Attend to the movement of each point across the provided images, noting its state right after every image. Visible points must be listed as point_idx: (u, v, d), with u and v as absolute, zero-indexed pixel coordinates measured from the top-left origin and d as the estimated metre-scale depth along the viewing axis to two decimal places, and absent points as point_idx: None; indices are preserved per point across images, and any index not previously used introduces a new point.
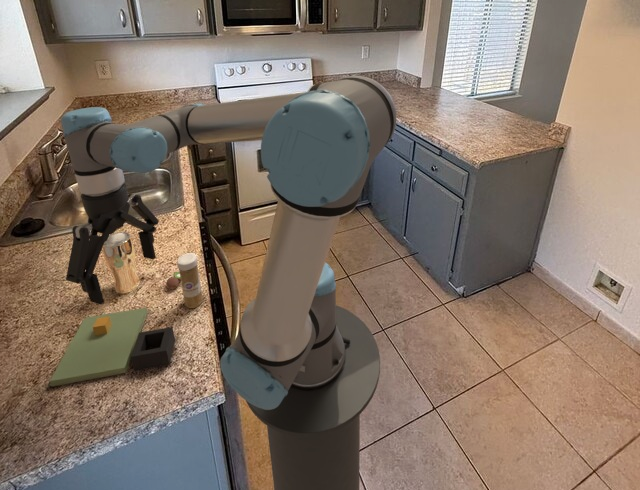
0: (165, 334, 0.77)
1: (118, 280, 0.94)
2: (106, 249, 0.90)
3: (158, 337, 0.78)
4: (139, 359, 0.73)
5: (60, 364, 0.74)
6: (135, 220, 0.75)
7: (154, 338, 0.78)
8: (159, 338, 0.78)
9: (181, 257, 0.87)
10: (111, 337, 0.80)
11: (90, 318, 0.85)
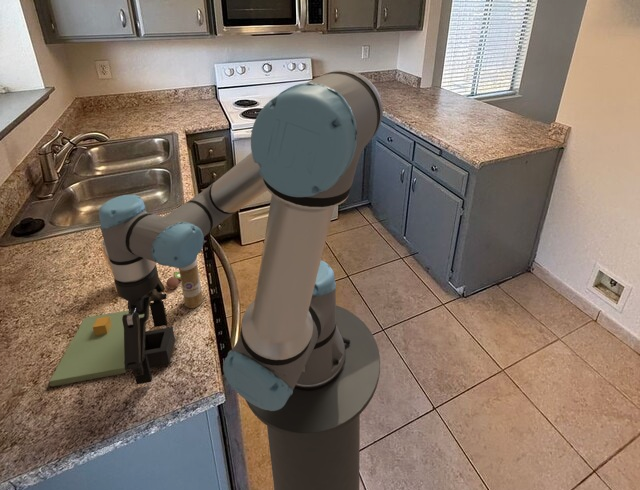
0: (165, 334, 0.77)
1: None
2: None
3: (158, 337, 0.78)
4: None
5: (60, 364, 0.74)
6: (155, 292, 0.78)
7: (154, 338, 0.78)
8: (159, 338, 0.78)
9: None
10: (111, 337, 0.80)
11: (90, 318, 0.85)
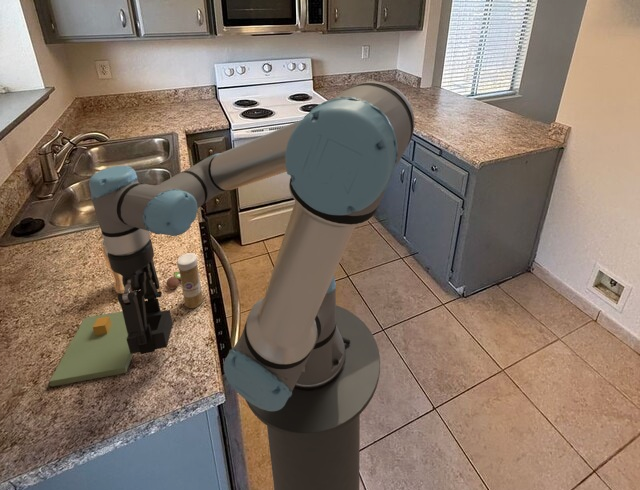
0: (162, 317, 0.76)
1: (118, 280, 0.94)
2: None
3: (155, 320, 0.77)
4: (135, 341, 0.72)
5: (60, 364, 0.74)
6: (150, 279, 0.74)
7: (151, 321, 0.77)
8: (156, 321, 0.77)
9: (181, 257, 0.87)
10: (111, 337, 0.80)
11: (90, 318, 0.85)
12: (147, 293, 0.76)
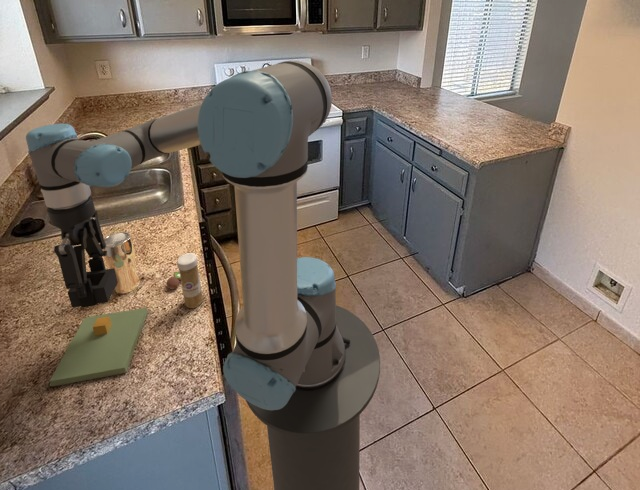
0: (106, 274, 0.79)
1: (118, 280, 0.94)
2: (106, 249, 0.90)
3: (99, 277, 0.79)
4: (76, 294, 0.74)
5: (60, 364, 0.74)
6: (94, 237, 0.77)
7: (95, 278, 0.79)
8: (100, 279, 0.80)
9: (181, 257, 0.87)
10: (111, 337, 0.80)
11: (90, 318, 0.85)
12: (91, 251, 0.78)
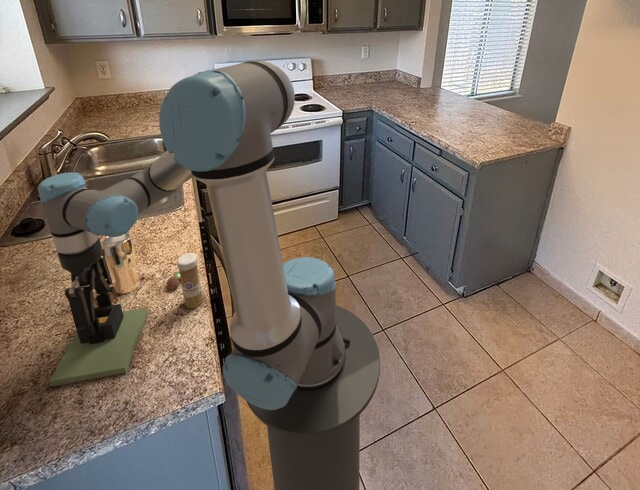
0: (112, 310, 0.82)
1: (118, 280, 0.94)
2: (106, 249, 0.90)
3: (106, 313, 0.83)
4: (85, 332, 0.78)
5: (60, 364, 0.74)
6: (101, 275, 0.81)
7: (102, 314, 0.83)
8: (107, 314, 0.83)
9: (181, 257, 0.87)
10: None
11: None
12: (99, 288, 0.82)
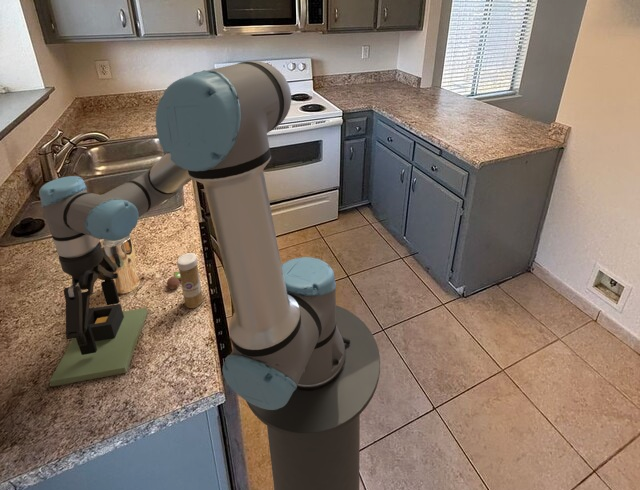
0: (112, 310, 0.82)
1: (118, 280, 0.94)
2: (106, 249, 0.90)
3: (106, 313, 0.83)
4: None
5: (60, 364, 0.74)
6: (104, 271, 0.82)
7: (102, 314, 0.83)
8: (107, 314, 0.83)
9: (181, 257, 0.87)
10: None
11: None
12: (103, 278, 0.85)
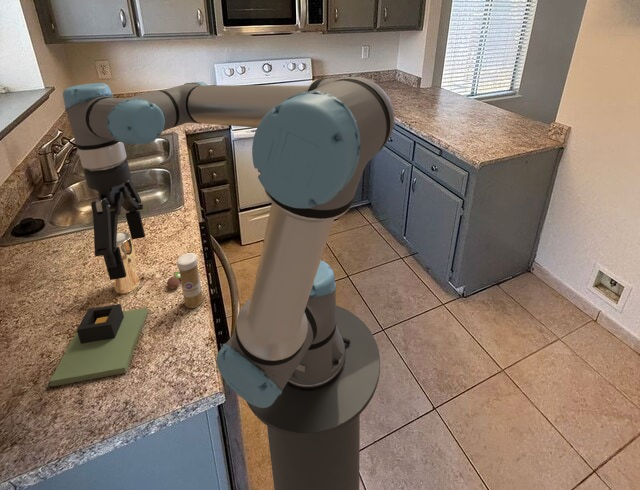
0: (112, 310, 0.82)
1: (118, 280, 0.94)
2: None
3: (106, 313, 0.83)
4: (85, 332, 0.78)
5: (60, 364, 0.74)
6: (129, 197, 0.76)
7: (102, 314, 0.83)
8: (107, 314, 0.83)
9: (181, 257, 0.87)
10: None
11: None
12: (128, 207, 0.79)
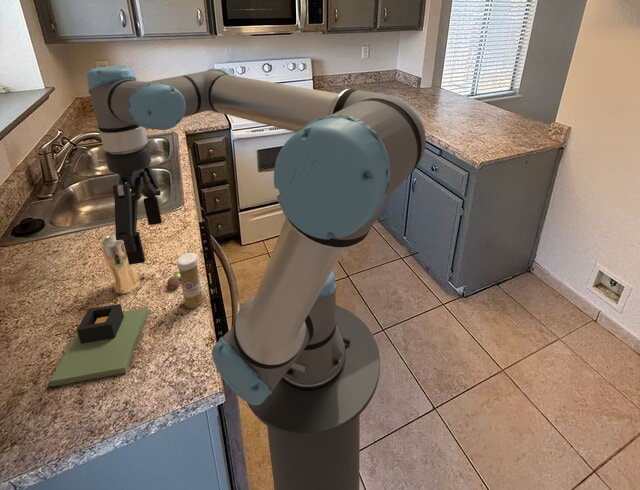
0: (112, 310, 0.82)
1: (118, 280, 0.94)
2: (106, 249, 0.90)
3: (106, 313, 0.83)
4: (85, 332, 0.78)
5: (60, 364, 0.74)
6: (148, 182, 0.76)
7: (102, 314, 0.83)
8: (107, 314, 0.83)
9: (181, 257, 0.87)
10: None
11: None
12: (146, 193, 0.78)
